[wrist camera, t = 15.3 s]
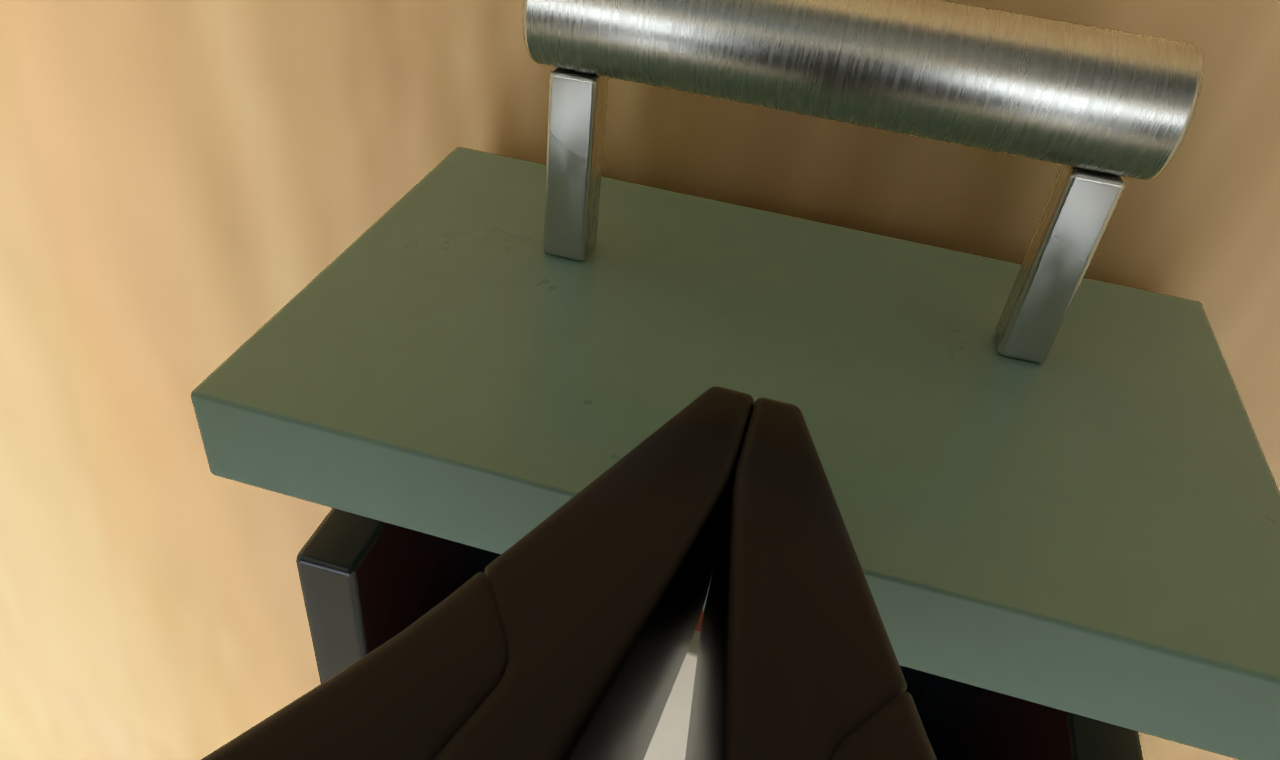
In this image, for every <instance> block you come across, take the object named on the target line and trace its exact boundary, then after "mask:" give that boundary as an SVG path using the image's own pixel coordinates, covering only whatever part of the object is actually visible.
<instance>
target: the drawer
mask: <svg viewBox="0 0 1280 760" xmlns="http://www.w3.org/2000/svg"><path fill="white" fill-rule="evenodd" d="M523 28H524V39H525V44H526V48H527V51H528V54H529V56H530V57H531V59H532V60H534V61H535V62H537V63H538V64H543V65H548V66H553V67H555V68H554V69H553V70H552V71H551V72H550V76H549V104H548V132H547V160H546V165H544V164H539V163H535V162H530V161H525V160H520V159H515V158H511V157H506V156H501V155H496V154H492V153H487V152H482V151H477V150H472V149H468V148H463V147H457V148H456V149H455V150H454V151H452V152H451V153H450V154H449V155H448V156H447V157H446V158H445V159H444V160H443V161H442V162H441V163H439V164H438V165H437V166H436V167H435V168H434V169H433V170H432V171H431V172H430V173H429V174H428V175H426V176H425V177H424V178H423V179H422V180H421V181H420V182H419V183H418V184H417V185H416V186H414V187H413V188H412V189H411V190H410V191H409V192H408V193H407V194H406V195H405V196H404V197H403V198H401V199H400V200H399V201H398V202H397V203H396V204H395V205H394V206H393V207H392V208H391V209H390V210H388V211H387V212H386V213H385V214H384V215H383V216H382V217H381V218H380V219H379V220H378V221H377V222H375V223H374V224H373V225H372V226H371V227H370V228H369V229H368V230H367V231H366V232H365V233H363V234H362V235H361V236H360V237H359V238H358V239H357V240H356V241H355V242H354V243H353V244H352V245H350V246H349V247H348V248H347V249H346V250H345V251H344V252H343V253H342V254H341V255H340V256H339V257H337V258H336V259H335V260H334V261H333V262H332V263H331V264H330V265H329V266H328V267H327V268H326V269H324V270H323V271H322V272H321V273H320V274H319V275H318V276H317V277H316V278H315V279H314V280H313V281H311V282H310V283H309V284H308V285H307V286H306V287H305V288H304V289H303V290H302V291H301V292H299V293H298V294H297V295H296V296H295V297H294V298H293V299H292V300H291V301H290V302H289V303H288V304H286V305H285V306H284V307H283V308H282V309H281V310H280V311H279V312H278V313H277V314H276V315H275V316H273V317H272V318H271V319H270V320H269V321H268V322H267V323H266V324H265V325H264V326H263V327H262V328H260V329H259V330H258V331H257V332H256V333H255V334H254V335H253V336H252V337H251V338H250V339H248V340H247V341H246V342H245V343H244V344H243V345H242V346H241V347H240V348H239V349H238V350H237V351H235V352H234V353H233V354H232V355H231V356H230V357H229V358H228V359H227V360H226V361H225V362H224V363H222V364H221V365H220V366H219V367H218V368H217V369H216V370H215V371H214V372H213V373H212V374H211V375H209V376H208V377H207V378H206V379H205V380H204V381H203V382H202V383H201V384H200V385H199V386H197V387H196V388H195V389H194V390H193V391H192V393H191V398H192V402H193V406H194V410H195V414H196V417H197V421H198V425H199V429H200V433H201V436H202V440H203V444H204V448H205V452H206V455H207V459H208V463H209V467H210V471H211V472H212V474H214V475H216V476H220V477H224V478H227V479H231V480H234V481H238V482H242V483H245V484H249V485H252V486H256V487H260V488H263V489H267V490H270V491H274V492H278V493H281V494H285V495H288V496H292V497H296V498H299V499H303V500H306V501H310V502H314V503H317V504H321V505H324V506H328V507H332V510H331V511H330V512H329V514H328V515H327V516H326V518H325V519H324V520H323V522H322V523H321V524H320V526H319V527H318V528H317V530H316V531H315V532H314V534H313V535H312V536H311V537H310V539H309V540H308V541H307V543H306V544H305V545H304V547H303V548H302V549H301V551H300V552H299V554H298V556H297V560H296V561H297V566H298V571H299V576H300V581H301V586H302V591H303V596H304V601H305V606H306V611H307V616H308V621H309V626H310V631H311V636H312V641H313V646H314V651H315V656H316V661H317V666H318V671H319V676H320V681H321V684H322V683H324V682H325V681H327V680H329V679H330V678H332V677H333V676H335V675H337V674H338V673H340V672H341V671H343V670H344V669H346V668H347V667H349V666H350V665H352V664H353V663H355V662H356V661H358V660H359V659H361V658H362V657H364V656H365V655H367V654H368V653H370V652H372V651H373V650H375V649H376V648H378V647H379V646H381V645H382V644H384V643H385V642H387V641H388V640H390V639H391V638H393V637H394V636H396V635H397V634H399V633H400V632H402V631H403V630H404V629H406V628H407V627H408V626H410V625H411V624H412V623H414V622H415V621H416V620H418V619H419V618H420V617H422V616H423V615H424V614H426V613H427V612H428V611H430V610H431V609H432V608H434V607H435V606H436V605H438V604H439V603H440V602H442V601H443V600H444V599H446V598H447V597H448V596H450V595H451V594H452V593H453V592H454V591H456V590H457V589H458V588H459V587H461V586H462V585H463V584H464V583H466V582H467V581H468V580H469V579H471V578H472V577H473V576H474V575H475V574H477V573H478V572H484V573H485V568H486V566H487V565H489V564H490V563H491V562H492V561H494V560H495V559H496V558H497V557H499V556H500V555H501V554H502V553H504V552H505V551H506V550H507V549H509V548H510V547H511V546H513V545H514V544H515V543H516V542H518V541H519V540H520V539H521V538H523V537H524V536H525V535H526V534H528V533H529V532H530V531H531V530H533V529H534V528H535V527H536V526H538V525H539V524H540V523H541V522H543V521H544V520H545V519H546V518H548V517H549V516H550V515H551V514H553V513H554V512H555V511H556V510H558V509H559V508H560V507H561V506H563V505H564V504H565V503H566V502H568V501H569V500H570V499H571V498H573V497H574V496H575V495H576V494H578V493H579V492H580V491H581V490H583V489H584V488H585V487H586V486H588V485H589V484H590V483H591V482H593V481H594V480H595V479H596V478H598V477H599V476H600V475H601V474H603V473H604V472H605V471H606V470H608V469H609V468H610V467H611V466H613V465H614V464H615V463H616V462H618V461H619V460H620V459H621V458H623V457H624V456H625V455H626V454H628V453H629V452H630V451H631V450H633V449H634V448H635V447H636V446H638V445H639V444H640V443H641V442H643V441H644V440H645V439H646V438H648V437H649V436H650V435H651V434H653V433H654V432H655V431H656V430H658V429H659V428H660V427H661V426H663V425H664V424H665V423H666V422H668V421H669V420H670V419H671V418H673V417H674V416H675V415H676V414H678V413H679V412H680V411H681V410H683V409H684V408H685V407H686V406H688V405H689V404H690V403H691V402H693V401H694V400H695V399H696V398H698V397H699V396H700V395H701V394H703V393H704V392H705V391H706V390H708V389H709V388H711V387H714V386H717V387H723V388H727V389H731V390H735V391H739V392H743V393H747V394H750V395H751V396H752V397H753V400H754V403H755V401H756V400H757V399H758V398H761V397H764V398H768V399H772V400H777V401H781V402H785V403H789V404H793V405H796V406H797V407H798V408H799V409H800V410H801V412H802V414H803V417H804V420H805V422H806V425H807V427H808V430H809V432H810V435H811V438H812V440H813V443H814V445H815V448H816V451H817V453H818V456H819V458H820V461H821V464H822V466H823V469H824V471H825V474H826V476H827V479H828V482H829V484H830V487H831V489H832V492H833V495H834V497H835V500H836V502H837V505H838V508H839V510H840V513H841V515H842V518H843V520H844V523H845V526H846V528H847V531H848V533H849V536H850V539H851V541H852V544H853V546H854V549H855V552H856V554H857V557H858V559H859V562H860V564H861V567H862V570H863V572H864V575H865V577H866V580H867V583H868V585H869V588H870V590H871V593H872V595H873V598H874V601H875V603H876V606H877V608H878V611H879V614H880V616H881V619H882V621H883V624H884V627H885V629H886V632H887V634H888V637H889V639H890V642H891V645H892V647H893V650H894V652H895V655H896V658H897V660H898V663H899V665H900V668H901V671H902V673H903V676H904V678H905V681H906V684H907V689H906V692H909V693H910V694H911V696H912V698H913V700H914V703H915V706H916V708H917V711H918V713H919V716H920V719H921V721H922V724H923V727H924V729H925V732H926V734H927V737H928V739H929V742H930V744H931V746H932V749H933V751H934V753H935V756H936V758H937V760H1143V756H1142V751H1141V745H1140V740H1139V734H1138V732H1142V733H1145V734H1149V735H1152V736H1156V737H1160V738H1163V739H1167V740H1170V741H1174V742H1178V743H1181V744H1185V745H1188V746H1192V747H1196V748H1199V749H1203V750H1206V751H1210V752H1214V753H1217V754H1221V755H1225V756H1228V757H1232V758H1235V759H1239V760H1280V493H1279V490H1278V488H1277V485H1276V483H1275V480H1274V478H1273V476H1272V473H1271V471H1270V468H1269V466H1268V464H1267V461H1266V459H1265V456H1264V454H1263V451H1262V449H1261V447H1260V444H1259V442H1258V439H1257V437H1256V435H1255V432H1254V430H1253V427H1252V425H1251V423H1250V420H1249V418H1248V415H1247V413H1246V410H1245V408H1244V406H1243V403H1242V401H1241V398H1240V396H1239V394H1238V391H1237V389H1236V386H1235V384H1234V381H1233V379H1232V377H1231V374H1230V372H1229V369H1228V367H1227V365H1226V362H1225V360H1224V357H1223V355H1222V352H1221V350H1220V348H1219V345H1218V343H1217V340H1216V338H1215V336H1214V333H1213V331H1212V328H1211V326H1210V324H1209V321H1208V319H1207V316H1206V314H1205V311H1204V309H1203V307H1202V304H1201V303H1200V302H1198V301H1194V300H1189V299H1184V298H1179V297H1174V296H1170V295H1165V294H1160V293H1155V292H1151V291H1146V290H1141V289H1136V288H1131V287H1127V286H1122V285H1117V284H1112V283H1108V282H1103V281H1098V280H1093V279H1088V278H1084V276H1085V273H1086V271H1087V269H1088V267H1089V265H1090V262H1091V260H1092V258H1093V256H1094V254H1095V252H1096V249H1097V247H1098V245H1099V243H1100V241H1101V238H1102V236H1103V234H1104V232H1105V230H1106V227H1107V225H1108V223H1109V221H1110V219H1111V217H1112V214H1113V212H1114V210H1115V208H1116V206H1117V203H1118V201H1119V199H1120V197H1121V195H1122V192H1123V190H1124V188H1125V181H1124V178H1123V176H1125V177H1130V178H1135V179H1140V180H1147V179H1152V178H1154V177H1156V176H1157V175H1158V174H1160V173H1161V172H1162V171H1163V169H1164V168H1165V167H1166V166H1167V165H1168V163H1169V162H1170V160H1171V159H1172V157H1173V156H1174V154H1175V153H1176V151H1177V149H1178V148H1179V146H1180V144H1181V142H1182V140H1183V138H1184V136H1185V134H1186V132H1187V130H1188V127H1189V125H1190V123H1191V120H1192V117H1193V115H1194V112H1195V109H1196V105H1197V102H1198V98H1199V95H1200V90H1201V85H1202V79H1203V69H1204V61H1203V54H1202V51H1201V49H1200V48H1199V47H1197V46H1196V45H1194V44H1192V43H1186V42H1180V41H1174V40H1168V39H1162V38H1156V37H1151V36H1145V35H1139V34H1133V33H1127V32H1121V31H1115V30H1109V29H1104V28H1098V27H1092V26H1086V25H1080V24H1074V23H1068V22H1062V21H1057V20H1051V19H1045V18H1039V17H1033V16H1027V15H1021V14H1015V13H1010V12H1004V11H998V10H992V9H986V8H980V7H974V6H968V5H962V4H957V3H951V2H945V1H939V0H524V6H523ZM609 77H610V78H616V79H621V80H626V81H631V82H636V83H641V84H647V85H652V86H657V87H662V88H667V89H673V90H678V91H683V92H688V93H693V94H699V95H704V96H709V97H714V98H719V99H725V100H730V101H735V102H740V103H745V104H751V105H756V106H761V107H766V108H771V109H777V110H782V111H787V112H792V113H797V114H803V115H808V116H813V117H818V118H823V119H829V120H834V121H839V122H844V123H849V124H855V125H860V126H865V127H870V128H875V129H881V130H886V131H891V132H896V133H901V134H906V135H912V136H917V137H922V138H927V139H932V140H938V141H943V142H948V143H953V144H958V145H964V146H969V147H974V148H979V149H984V150H990V151H995V152H1000V153H1005V154H1010V155H1016V156H1021V157H1026V158H1031V159H1036V160H1042V161H1047V162H1052V163H1057V164H1062V166H1061V169H1060V171H1059V174H1058V176H1057V179H1056V181H1055V184H1054V186H1053V189H1052V191H1051V194H1050V196H1049V199H1048V201H1047V203H1046V206H1045V208H1044V211H1043V213H1042V216H1041V218H1040V221H1039V223H1038V226H1037V228H1036V231H1035V233H1034V236H1033V238H1032V240H1031V243H1030V245H1029V248H1028V250H1027V253H1026V255H1025V258H1024V260H1023V263H1022V264H1017V263H1012V262H1007V261H1003V260H998V259H993V258H988V257H983V256H979V255H974V254H969V253H964V252H960V251H955V250H950V249H945V248H940V247H936V246H931V245H926V244H921V243H917V242H912V241H907V240H902V239H897V238H893V237H888V236H883V235H878V234H874V233H869V232H864V231H859V230H855V229H850V228H845V227H840V226H835V225H831V224H826V223H821V222H816V221H812V220H807V219H802V218H797V217H792V216H788V215H783V214H778V213H773V212H769V211H764V210H759V209H754V208H749V207H745V206H740V205H735V204H730V203H726V202H721V201H716V200H711V199H706V198H702V197H697V196H692V195H687V194H683V193H678V192H673V191H668V190H664V189H659V188H654V187H649V186H644V185H640V184H635V183H630V182H625V181H621V180H616V179H611V178H606V177H601V173H602V160H603V146H604V133H605V120H606V107H607V93H608V80H609ZM753 405H754V404H753ZM709 586H710V585H709ZM708 591H709V589H708ZM707 595H708V593H707ZM706 600H707V596H706ZM706 600H705V603H704V607H703V610H702V611H704V609H705V604H706Z"/></svg>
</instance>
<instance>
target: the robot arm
mask: <svg viewBox="0 0 1280 760" xmlns="http://www.w3.org/2000/svg"><path fill="white" fill-rule="evenodd" d="M753 404H754V405H753ZM709 585H710V586H709ZM708 589H709V591H708ZM707 593H708V595H707ZM706 596H707V600H706ZM705 600H706V604H705V609H704V613H703V618H702V625H701V632H700V638H699V646H698V654H697V663H696V671H695V679H694V688H693V696H692V705H691V713H690V721H689V730H688V738H687V747H686V755H685V760H937V758H936V756H935V753H934V751H933V749H932V746H931V744H930V742H929V739H928V737H927V734H926V732H925V729H924V727H923V724H922V721H921V719H920V716H919V713H918V711H917V708H916V706H915V703H914V700H913V698H912V696H911V694H910V693H909V692H906V689H907V684H906V681H905V678H904V676H903V673H902V671H901V668H900V665H899V663H898V660H897V658H896V655H895V652H894V650H893V647H892V645H891V642H890V639H889V637H888V634H887V632H886V629H885V627H884V624H883V621H882V619H881V616H880V614H879V611H878V608H877V606H876V603H875V601H874V598H873V595H872V593H871V590H870V588H869V585H868V583H867V580H866V577H865V575H864V572H863V570H862V567H861V564H860V562H859V559H858V557H857V554H856V552H855V549H854V546H853V544H852V541H851V539H850V536H849V533H848V531H847V528H846V526H845V523H844V520H843V518H842V515H841V513H840V510H839V508H838V505H837V502H836V500H835V497H834V495H833V492H832V489H831V487H830V484H829V482H828V479H827V476H826V474H825V471H824V469H823V466H822V464H821V461H820V458H819V456H818V453H817V451H816V448H815V445H814V443H813V440H812V438H811V435H810V432H809V430H808V427H807V425H806V422H805V420H804V417H803V414H802V412H801V410H800V409H799V408H798V407H797V406H796V405H793V404H789V403H785V402H781V401H777V400H772V399H768V398H764V397H761V398H758V399H757V400H756V401H755V403H754V400H753V397H752V396H751V395H750V394H747V393H743V392H739V391H735V390H731V389H727V388H723V387H717V386H714V387H711V388H709V389H708V390H706V391H705V392H704V393H703V394H701V395H700V396H699V397H698V398H696V399H695V400H694V401H693V402H691V403H690V404H689V405H688V406H686V407H685V408H684V409H683V410H681V411H680V412H679V413H678V414H676V415H675V416H674V417H673V418H671V419H670V420H669V421H668V422H666V423H665V424H664V425H663V426H661V427H660V428H659V429H658V430H656V431H655V432H654V433H653V434H651V435H650V436H649V437H648V438H646V439H645V440H644V441H643V442H641V443H640V444H639V445H638V446H636V447H635V448H634V449H633V450H631V451H630V452H629V453H628V454H626V455H625V456H624V457H623V458H621V459H620V460H619V461H618V462H616V463H615V464H614V465H613V466H611V467H610V468H609V469H608V470H606V471H605V472H604V473H603V474H601V475H600V476H599V477H598V478H596V479H595V480H594V481H593V482H591V483H590V484H589V485H588V486H586V487H585V488H584V489H583V490H581V491H580V492H579V493H578V494H576V495H575V496H574V497H573V498H571V499H570V500H569V501H568V502H566V503H565V504H564V505H563V506H561V507H560V508H559V509H558V510H556V511H555V512H554V513H553V514H551V515H550V516H549V517H548V518H546V519H545V520H544V521H543V522H541V523H540V524H539V525H538V526H536V527H535V528H534V529H533V530H531V531H530V532H529V533H528V534H526V535H525V536H524V537H523V538H521V539H520V540H519V541H518V542H516V543H515V544H514V545H513V546H511V547H510V548H509V549H507V550H506V551H505V552H504V553H502V554H501V555H500V556H499V557H497V558H496V559H495V560H494V561H492V562H491V563H490V564H489V565H487V566H486V568H485V573H484V572H478V573H477V574H475V575H474V576H473V577H472V578H471V579H469V580H468V581H467V582H466V583H464V584H463V585H462V586H461V587H459V588H458V589H457V590H456V591H454V592H453V593H452V594H451V595H450V596H448V597H447V598H446V599H444V600H443V601H442V602H440V603H439V604H438V605H436V606H435V607H434V608H432V609H431V610H430V611H428V612H427V613H426V614H424V615H423V616H422V617H420V618H419V619H418V620H416V621H415V622H414V623H412V624H411V625H410V626H408V627H407V628H406V629H404V630H403V631H402V632H400V633H399V634H397V635H396V636H394V637H393V638H391V639H390V640H388V641H387V642H385V643H384V644H382V645H381V646H379V647H378V648H376V649H375V650H373V651H372V652H370V653H368V654H367V655H365V656H364V657H362V658H361V659H359V660H358V661H356V662H355V663H353V664H352V665H350V666H349V667H347V668H346V669H344V670H343V671H341V672H340V673H338V674H337V675H335V676H333V677H332V678H330V679H329V680H327V681H325V682H324V683H322V684H321V685H319V686H317V687H316V688H314V689H313V690H311V691H309V692H308V693H306V694H305V695H303V696H302V697H300V698H298V699H297V700H295V701H294V702H292V703H290V704H289V705H287V706H286V707H284V708H282V709H281V710H279V711H278V712H276V713H274V714H273V715H271V716H270V717H268V718H266V719H265V720H263V721H262V722H260V723H259V724H257V725H255V726H254V727H252V728H251V729H249V730H247V731H246V732H244V733H243V734H241V735H239V736H238V737H236V738H235V739H233V740H231V741H230V742H228V743H227V744H225V745H224V746H222V747H220V748H219V749H217V750H216V751H214V752H212V753H211V754H209V755H208V756H206V757H204V758H203V759H201V760H644V757H645V755H646V752H647V750H648V747H649V745H650V742H651V740H652V738H653V735H654V733H655V730H656V728H657V725H658V723H659V720H660V718H661V715H662V713H663V710H664V708H665V705H666V703H667V700H668V698H669V695H670V693H671V691H672V688H673V686H674V683H675V681H676V678H677V676H678V673H679V671H680V668H681V666H682V663H683V661H684V658H685V656H686V653H687V651H688V648H689V646H690V644H691V641H692V639H693V636H694V633H695V630H696V628H697V625H698V622H699V620H700V617H701V613H702V610H703V607H704V603H705Z"/></svg>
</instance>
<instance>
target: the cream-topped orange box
mask: <svg viewBox="0 0 1280 760" xmlns="http://www.w3.org/2000/svg"><path fill="white" fill-rule="evenodd" d="M703 613H704V611H702V613H701V617H700V620H699V622H698V625H697V628H696V630H695V633H694V636H693V639H692V641H691V644H690V646H689V648H688V651H687V653H686V656H685V658H684V661H683V663H682V666H681V668H680V671H679V673H678V676H677V678H676V681H675V683H674V686H673V688H672V691H671V693H670V695H669V698H668V700H667V703H666V705H665V708H664V710H663V713H662V715H661V718H660V720H659V723H658V725H657V728H656V730H655V733H654V735H653V738H652V740H651V742H650V745H649V747H648V750H647V752H646V755H645V757H644V760H685V755H686V747H687V738H688V730H689V721H690V713H691V705H692V696H693V688H694V679H695V671H696V663H697V654H698V646H699V638H700V632H701V625H702V618H703Z"/></svg>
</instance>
